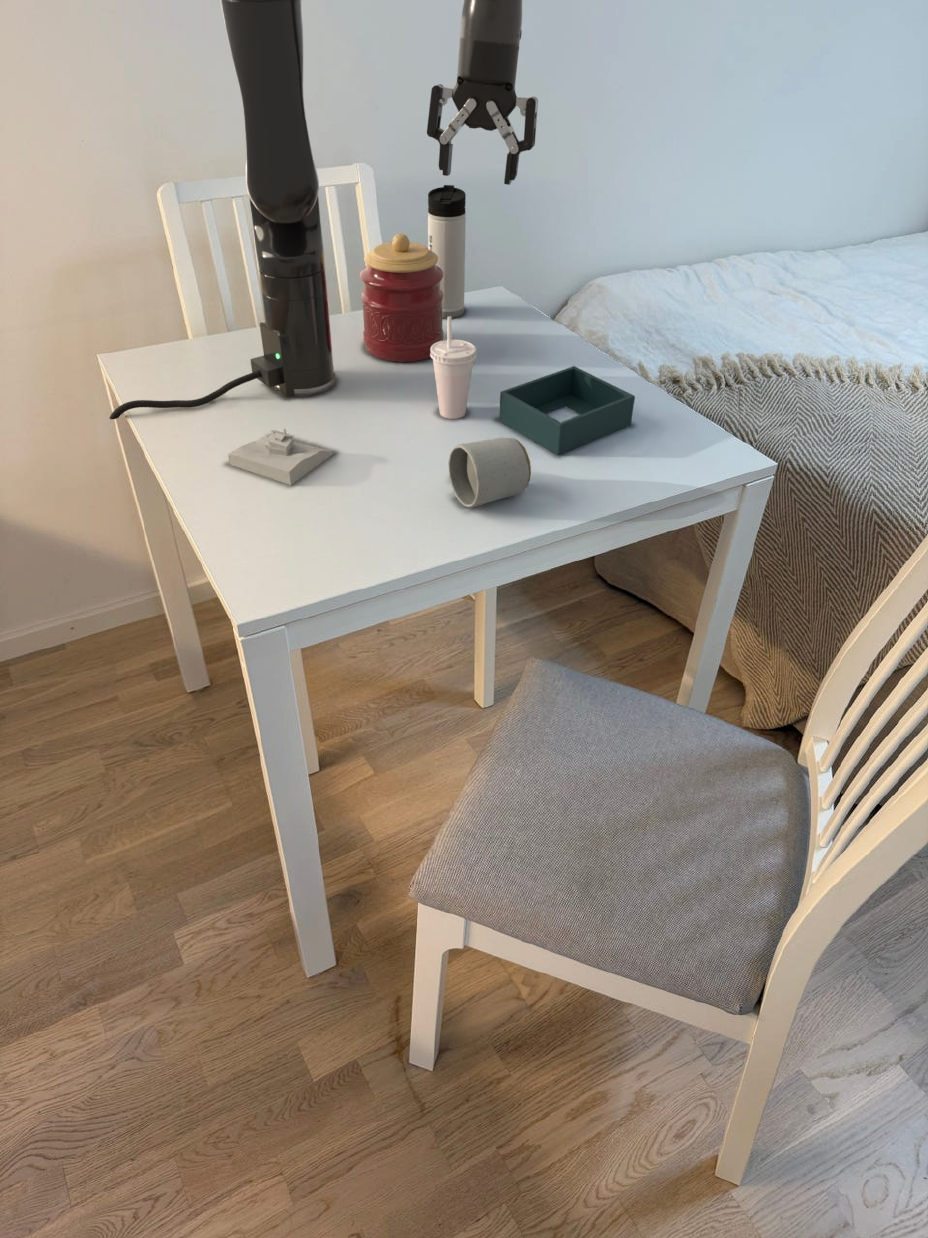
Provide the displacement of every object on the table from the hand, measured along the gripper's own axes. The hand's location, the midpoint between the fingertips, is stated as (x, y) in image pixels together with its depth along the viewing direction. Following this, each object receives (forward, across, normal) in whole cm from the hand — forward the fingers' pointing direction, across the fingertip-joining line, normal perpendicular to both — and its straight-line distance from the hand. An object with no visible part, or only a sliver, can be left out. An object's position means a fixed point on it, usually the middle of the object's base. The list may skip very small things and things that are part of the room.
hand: (477, 179), depth 120 cm
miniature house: (+32, -17, -30) cm, 47 cm away
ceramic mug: (+30, +10, -32) cm, 45 cm away
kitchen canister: (+28, -11, +9) cm, 31 cm away
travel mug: (+26, -8, +25) cm, 37 cm away
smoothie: (+29, +2, -12) cm, 31 cm away
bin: (+28, +18, -11) cm, 35 cm away
